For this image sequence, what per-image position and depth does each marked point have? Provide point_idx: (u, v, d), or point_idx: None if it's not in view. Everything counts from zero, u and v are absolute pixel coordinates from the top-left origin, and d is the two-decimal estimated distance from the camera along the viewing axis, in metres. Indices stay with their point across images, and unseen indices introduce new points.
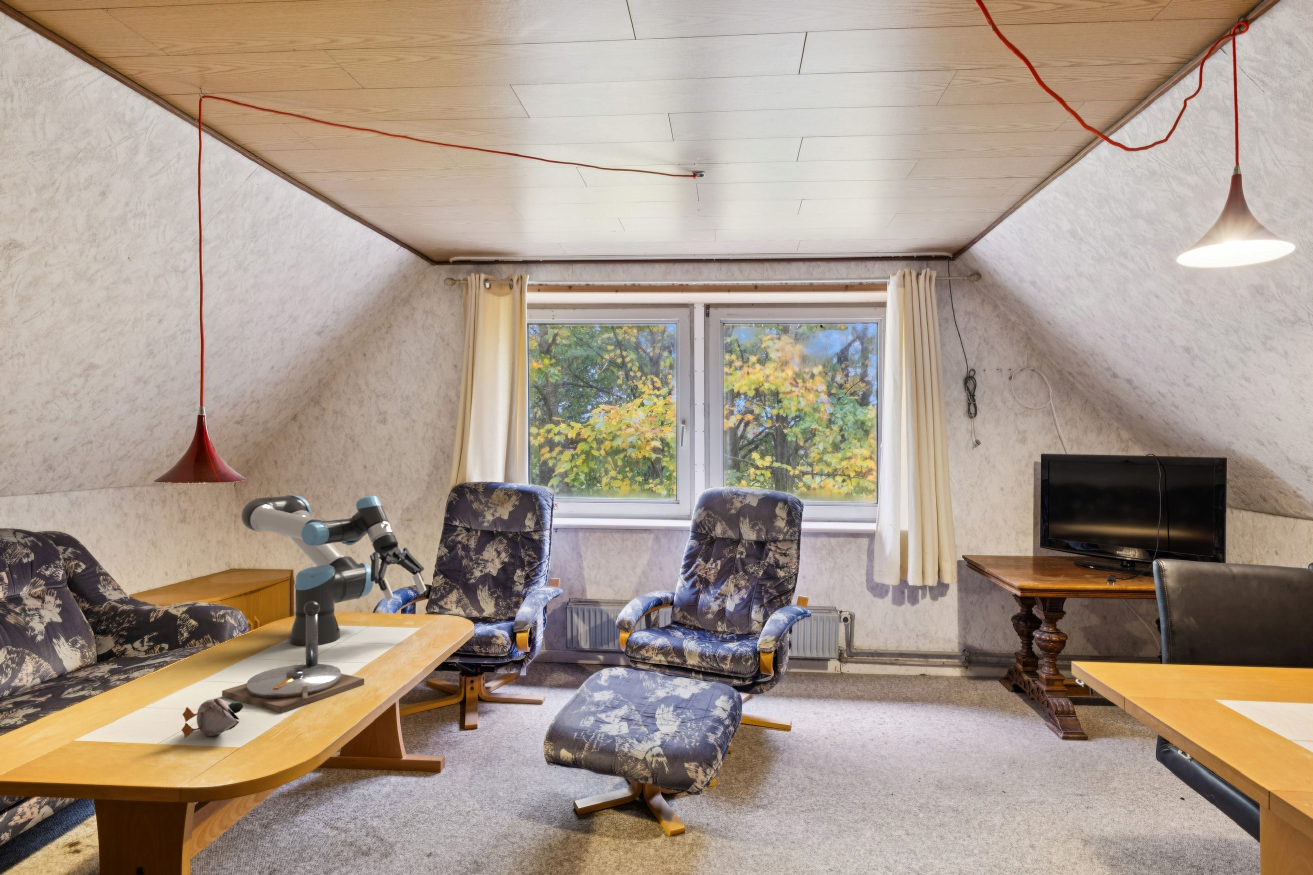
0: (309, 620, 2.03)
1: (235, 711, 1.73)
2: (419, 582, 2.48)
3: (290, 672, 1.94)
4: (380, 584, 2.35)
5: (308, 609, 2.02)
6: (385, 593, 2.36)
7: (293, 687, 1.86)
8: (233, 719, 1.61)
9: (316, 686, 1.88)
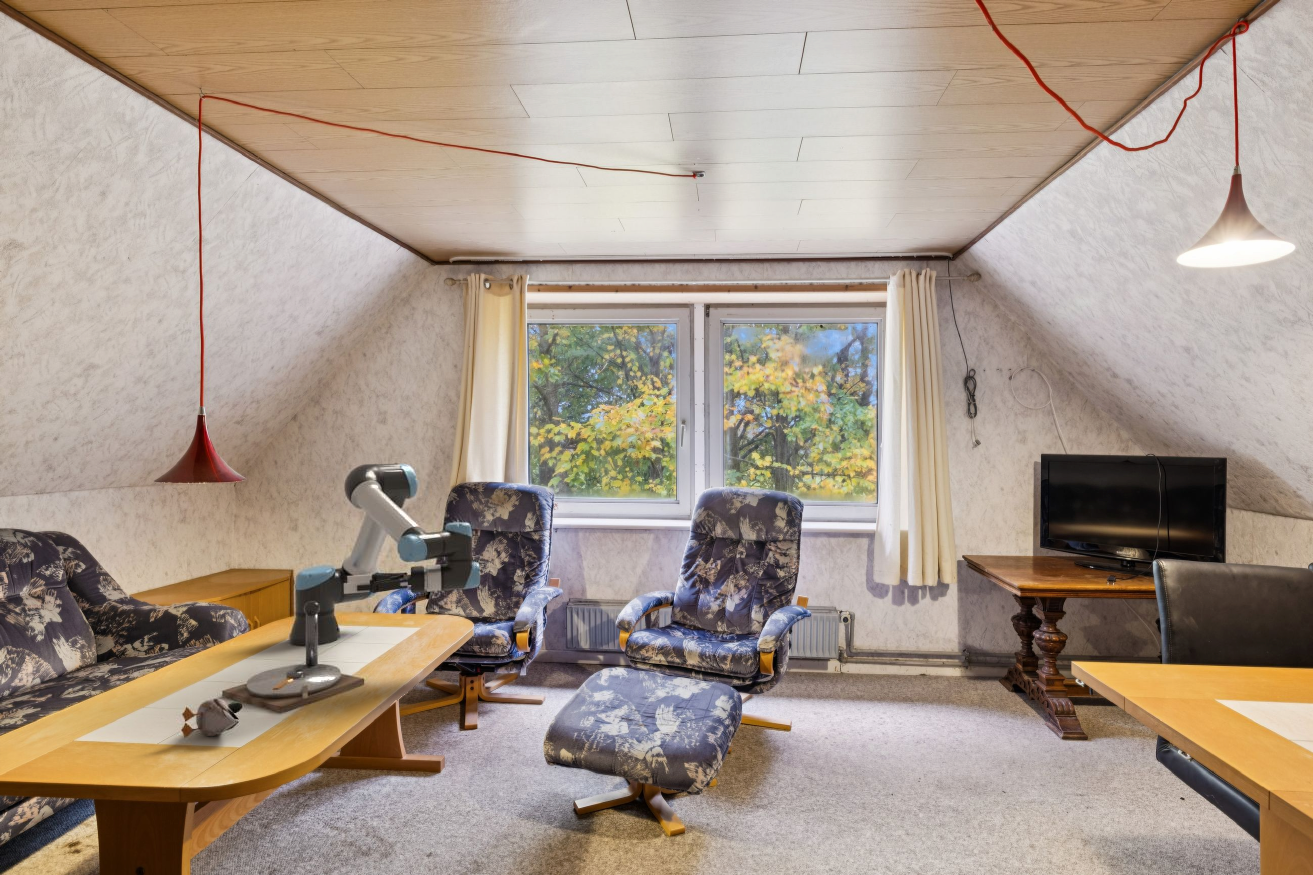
0: (309, 620, 2.03)
1: (234, 711, 1.73)
2: (359, 582, 2.15)
3: (290, 672, 1.94)
4: (364, 588, 2.02)
5: (308, 609, 2.02)
6: (352, 585, 2.02)
7: (293, 687, 1.86)
8: (233, 719, 1.61)
9: (316, 686, 1.88)
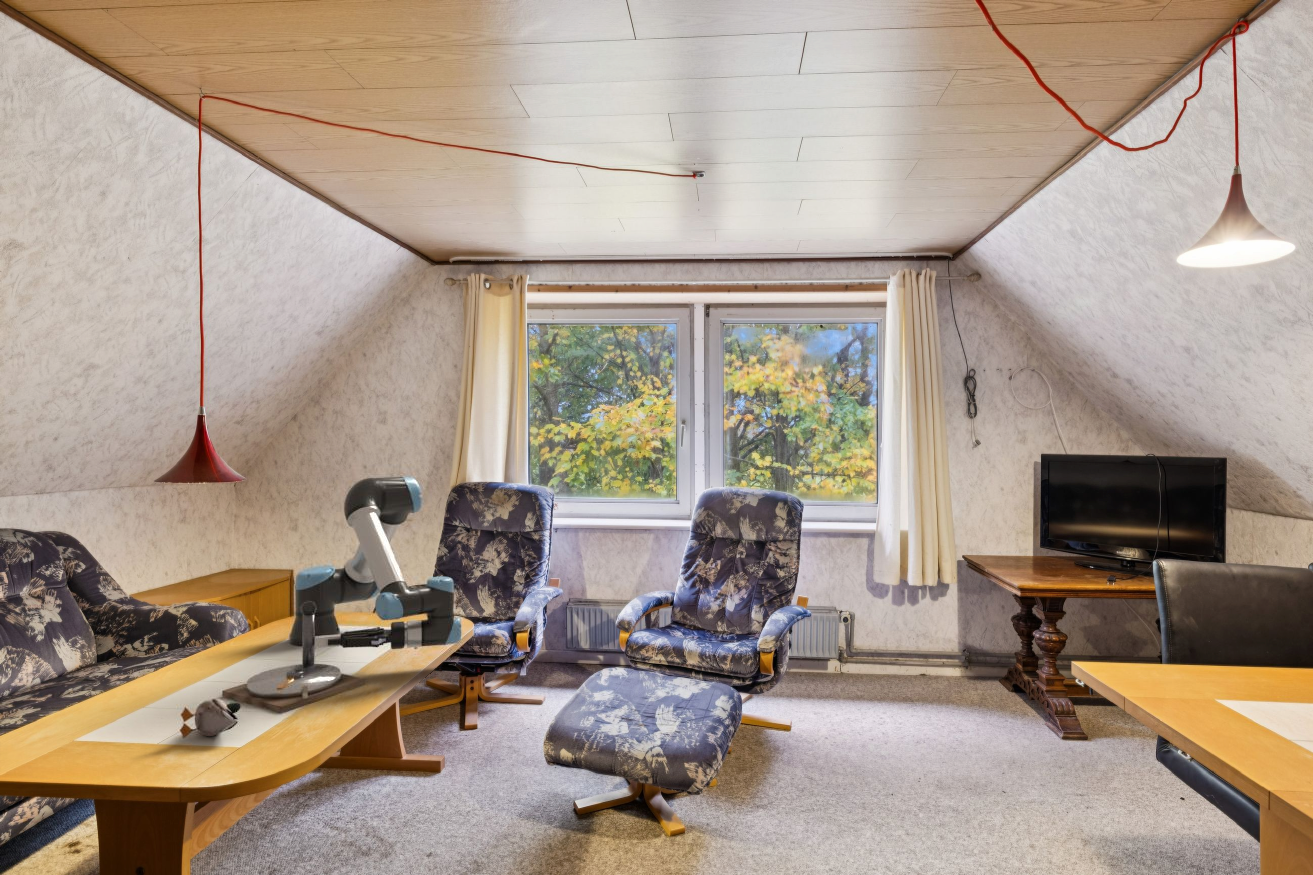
0: (306, 620, 2.03)
1: (233, 711, 1.73)
2: None
3: (290, 672, 1.94)
4: (335, 642, 2.04)
5: (305, 609, 2.02)
6: (323, 639, 2.04)
7: (296, 686, 1.86)
8: (232, 719, 1.61)
9: (320, 685, 1.88)
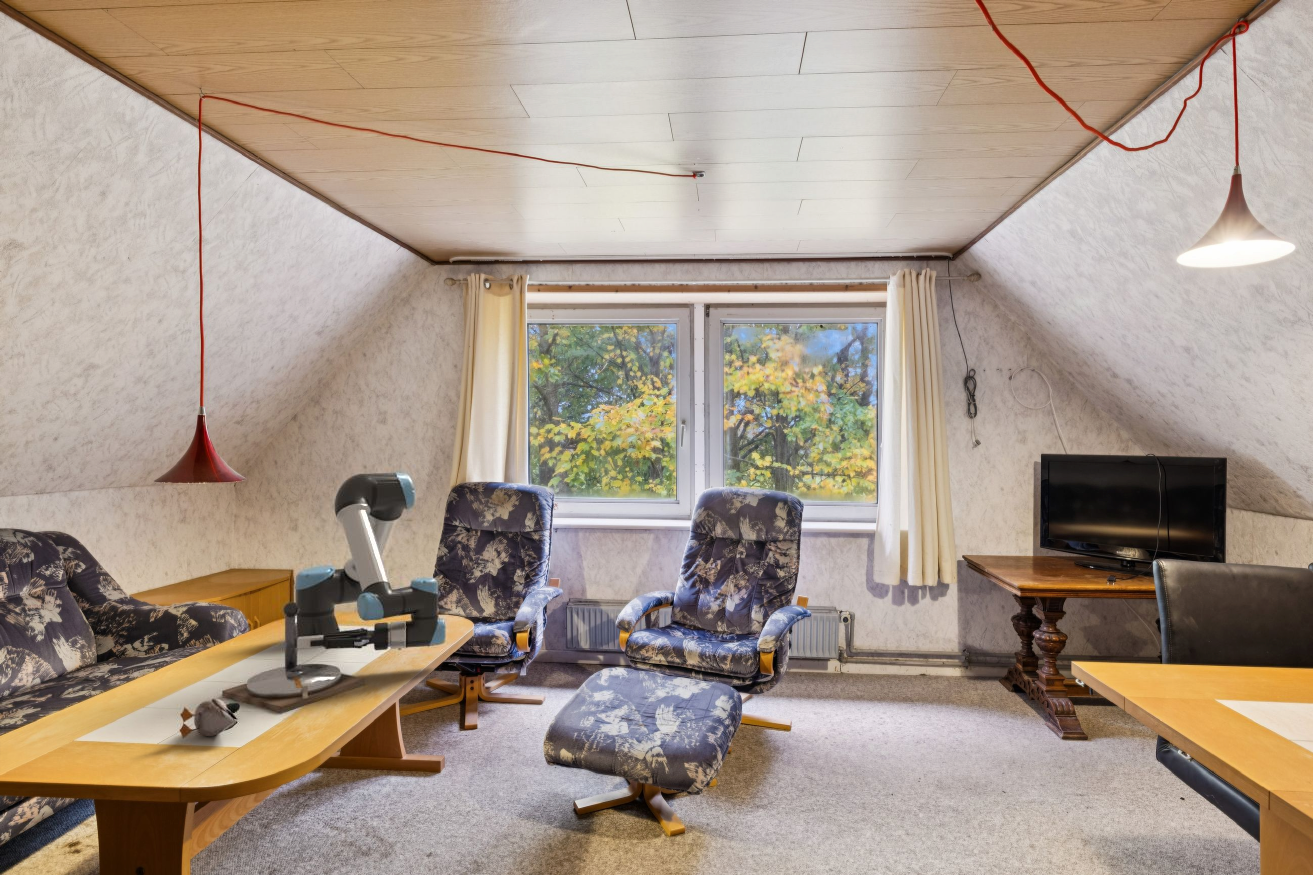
0: (291, 622, 2.02)
1: (232, 711, 1.73)
2: None
3: (291, 672, 1.93)
4: (318, 643, 2.03)
5: (291, 610, 2.01)
6: (306, 640, 2.03)
7: (313, 683, 1.89)
8: (232, 719, 1.61)
9: (334, 679, 1.93)
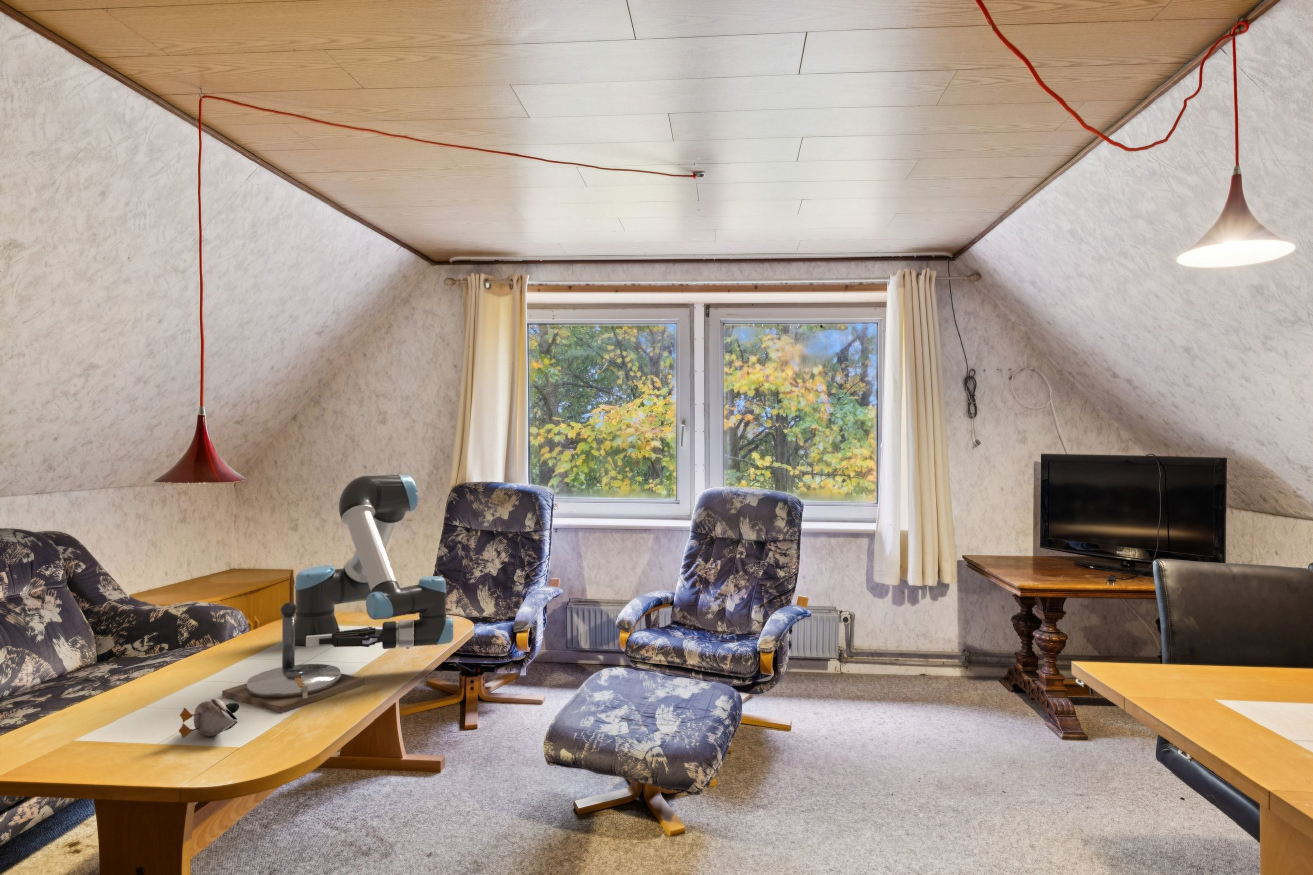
0: (289, 622, 2.01)
1: (232, 711, 1.72)
2: None
3: (291, 673, 1.93)
4: (326, 641, 2.04)
5: (289, 610, 2.01)
6: (315, 639, 2.04)
7: (316, 682, 1.89)
8: (231, 719, 1.61)
9: (335, 678, 1.94)
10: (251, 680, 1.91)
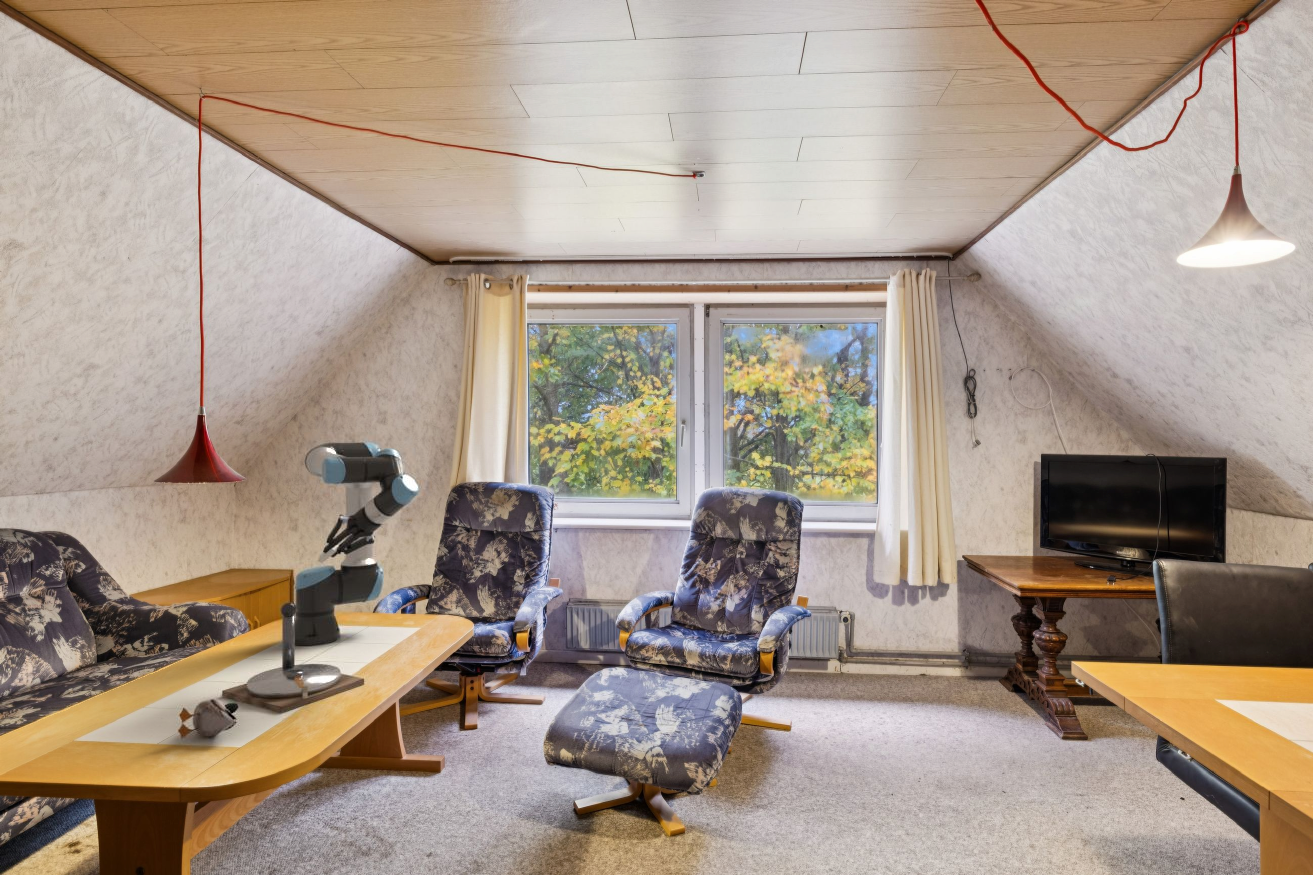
0: (289, 622, 2.01)
1: (231, 712, 1.72)
2: None
3: (291, 673, 1.93)
4: (327, 546, 2.20)
5: (289, 610, 2.01)
6: (324, 552, 2.22)
7: (316, 682, 1.89)
8: (231, 719, 1.61)
9: (335, 678, 1.94)
10: (251, 680, 1.91)
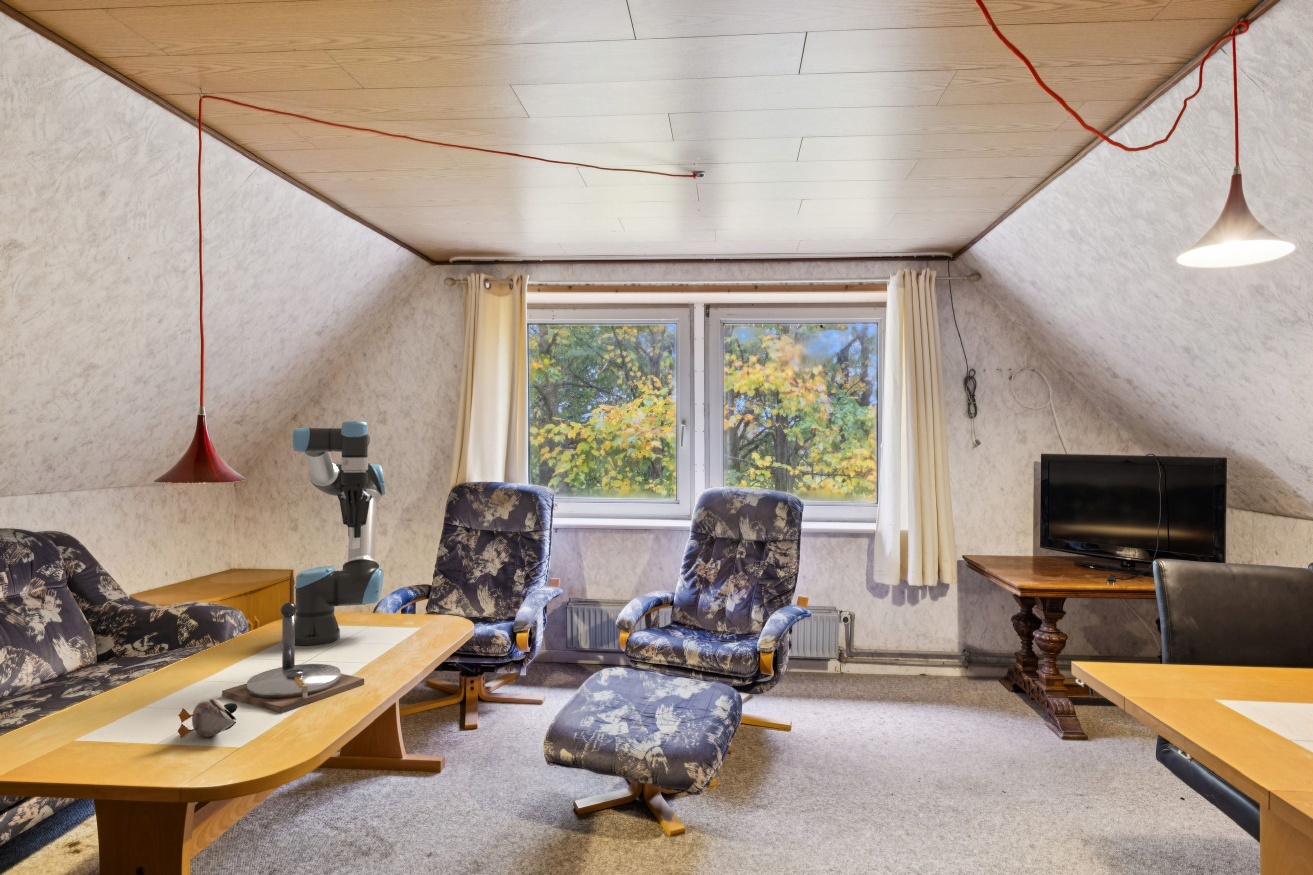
0: (289, 622, 2.01)
1: (230, 712, 1.72)
2: None
3: (291, 673, 1.93)
4: None
5: (289, 610, 2.01)
6: None
7: (316, 682, 1.89)
8: (230, 719, 1.61)
9: (335, 678, 1.94)
10: (251, 680, 1.91)
